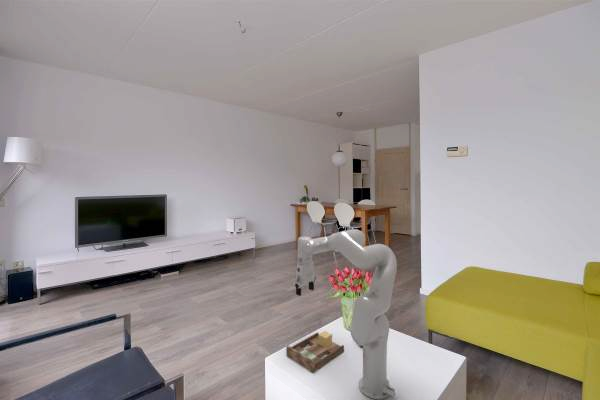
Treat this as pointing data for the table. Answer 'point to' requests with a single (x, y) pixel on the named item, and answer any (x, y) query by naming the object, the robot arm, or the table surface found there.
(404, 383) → the table surface
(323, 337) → the block
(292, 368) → the table surface
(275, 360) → the table surface
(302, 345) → the box
